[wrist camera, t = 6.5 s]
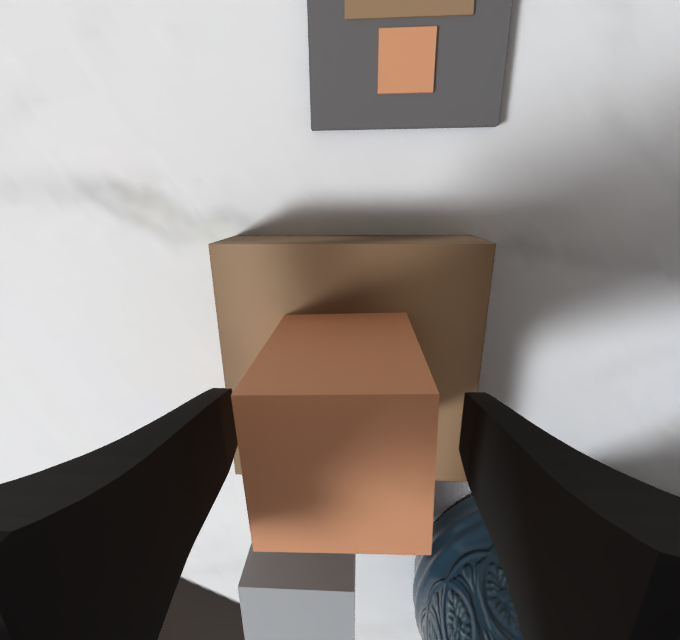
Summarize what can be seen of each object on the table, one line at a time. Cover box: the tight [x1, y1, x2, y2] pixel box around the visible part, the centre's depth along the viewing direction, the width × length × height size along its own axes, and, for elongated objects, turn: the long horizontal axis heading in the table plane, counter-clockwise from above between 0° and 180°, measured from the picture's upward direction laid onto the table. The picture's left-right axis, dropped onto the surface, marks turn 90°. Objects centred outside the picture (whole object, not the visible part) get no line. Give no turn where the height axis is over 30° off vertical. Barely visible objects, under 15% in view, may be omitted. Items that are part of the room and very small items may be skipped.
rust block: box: [231, 312, 439, 555], centre depth 11 cm, size 4×4×6 cm
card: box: [307, 0, 513, 131], centre depth 13 cm, size 7×6×1 cm
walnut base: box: [209, 235, 496, 481], centre depth 16 cm, size 10×10×4 cm
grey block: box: [238, 544, 355, 640], centre depth 18 cm, size 4×4×6 cm
